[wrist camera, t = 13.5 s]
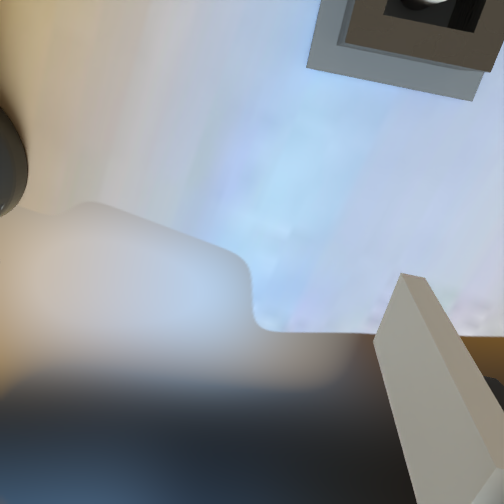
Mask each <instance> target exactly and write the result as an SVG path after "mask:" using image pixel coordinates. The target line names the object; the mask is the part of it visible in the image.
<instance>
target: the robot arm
mask: <svg viewBox="0 0 504 504" xmlns="http://www.w3.org/2000/svg"><path fill="white" fill-rule="evenodd" d="M26 182H27V161H26V156H25V152H24V148H23V145H22V142H21V140H20V137H19V135H18V133H17V131H16V129H15V127H14V126H13V124H12V122H11V121H10V119H9V118H8V116H7V115H6V114H5V112H4V111H3V110H2V109H1V108H0V217H1V216H3V215H5V214H7V213H8V212H9V211H11V210H12V209H13V208H14V207H15V206H16V205H17V204H18V202H19V201H20V199H21V197H22V195H23V193H24V190H25V187H26ZM373 343H374V346H375V350H376V354H377V357H378V361H379V365H380V368H381V372H382V376H383V379H384V383H385V387H386V390H387V394H388V397H389V401H390V405H391V408H392V412H393V416H394V419H395V423H396V427H397V430H398V434H399V437H400V441H401V445H402V449H403V452H404V456H405V460H406V463H407V467H408V470H409V474H410V478H411V481H412V485H413V488H414V492H415V496H416V500H417V503H418V504H504V386H503V385H502V384H501V383H500V382H499V381H498V380H497V379H494V378H490V377H485V376H482V374H481V372H480V371H479V369H478V367H477V366H476V364H475V362H474V360H473V359H472V357H471V355H470V354H469V352H468V350H467V349H466V347H465V345H464V343H463V342H462V340H461V338H460V337H459V335H458V333H457V332H456V330H455V328H454V326H453V325H452V323H451V321H450V320H449V318H448V316H447V315H446V313H445V311H444V309H443V308H442V306H441V304H440V303H439V301H438V299H437V298H436V296H435V294H434V292H433V291H432V289H431V287H430V286H429V284H428V282H427V281H426V279H425V278H423V277H418V276H413V275H408V274H404V273H401V274H400V276H399V279H398V281H397V284H396V286H395V289H394V291H393V294H392V296H391V299H390V301H389V304H388V306H387V309H386V311H385V314H384V316H383V319H382V321H381V323H380V326H379V328H378V331H377V333H376V336H375V339H374V341H373Z"/></svg>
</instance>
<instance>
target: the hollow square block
mask: <svg viewBox="0 0 504 504" xmlns="http://www.w3.org/2000/svg"><path fill="white" fill-rule="evenodd" d="M386 4H387V0H347V4H346V8H345V12H344V16H343V21H342V25H341V29H340V33H339V37H338V41H337V45H338V46H342V47H347V48H352V49H357V50H362V51H367V52H372V53H377V54H382V55H387V56H391V57H396V58H401V59H406V60H411V61H416V62H421V63H426V64H431V65H436V66H440V67H445V68H450V69H455V70H464V71H477V72H491V70H492V68H493V65H494V63H495V60H496V58H497V56H498V53H499V51H500V48H501V46H502V43H503V41H504V0H456V3H455V6H454V9H453V12H452V14H451V17H450V20H449V23H448V26H447V28H446V27H441V26H436V25H431V24H426V23H421V22H416V21H412V20H407V19H402V18H397V17H392V16H387V15H383V14H384V11H385V7H386Z"/></svg>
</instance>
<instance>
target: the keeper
mask: <svg viewBox="0 0 504 504" xmlns="http://www.w3.org/2000/svg"><path fill="white" fill-rule="evenodd" d="M455 3H456V0H387V4H386V7H385V11H384V14H383V15H387V16H392V17H397V18H402V19H407V20H412V21H416V22H421V23H426V24H431V25H436V26H441V27H446V28H447V26H448V23H449V20H450V17H451V14H452V12H453V9H454V6H455ZM346 4H347V0H321V3H320V8H319V12H318V17H317V21H316V26H315V30H314V35H313V39H312V44H311V48H310V53H309V57H308V62H307V66H306V68H310V69H315V70H320V71H325V72H330V73H335V74H340V75H344V76H349V77H354V78H359V79H364V80H369V81H374V82H379V83H384V84H388V85H393V86H398V87H403V88H408V89H413V90H418V91H423V92H428V93H432V94H437V95H442V96H447V97H452V98H457V99H462V100H467V101H473V98H474V96H475V94H476V91H477V89H478V86H479V84H480V81H481V79H482V76H483V74H484V72H477V71H464V70H455V69H450V68H445V67H440V66H436V65H431V64H426V63H421V62H416V61H411V60H406V59H401V58H396V57H391V56H387V55H382V54H377V53H372V52H367V51H362V50H357V49H352V48H347V47H342V46H338V45H337V41H338V37H339V33H340V29H341V25H342V21H343V16H344V12H345V8H346Z"/></svg>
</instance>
